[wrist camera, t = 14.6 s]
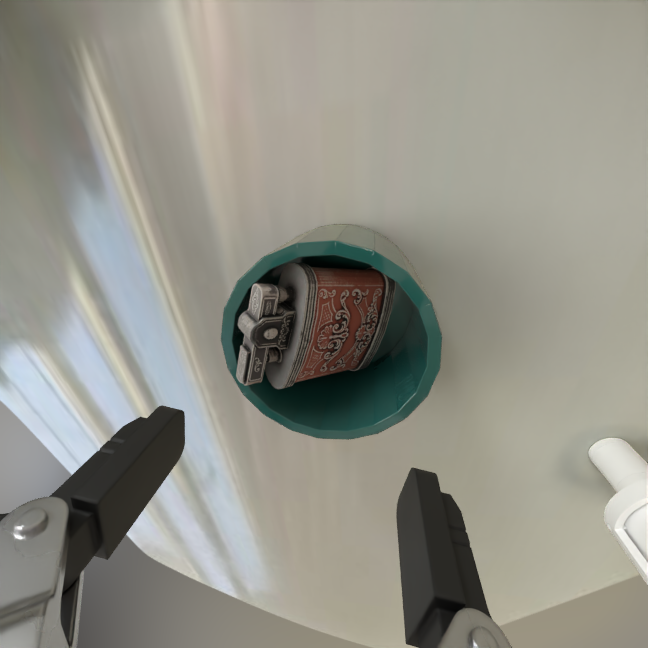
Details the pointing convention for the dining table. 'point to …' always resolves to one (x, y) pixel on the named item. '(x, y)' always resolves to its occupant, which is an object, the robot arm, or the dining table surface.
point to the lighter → (313, 324)
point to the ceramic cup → (347, 386)
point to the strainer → (625, 497)
